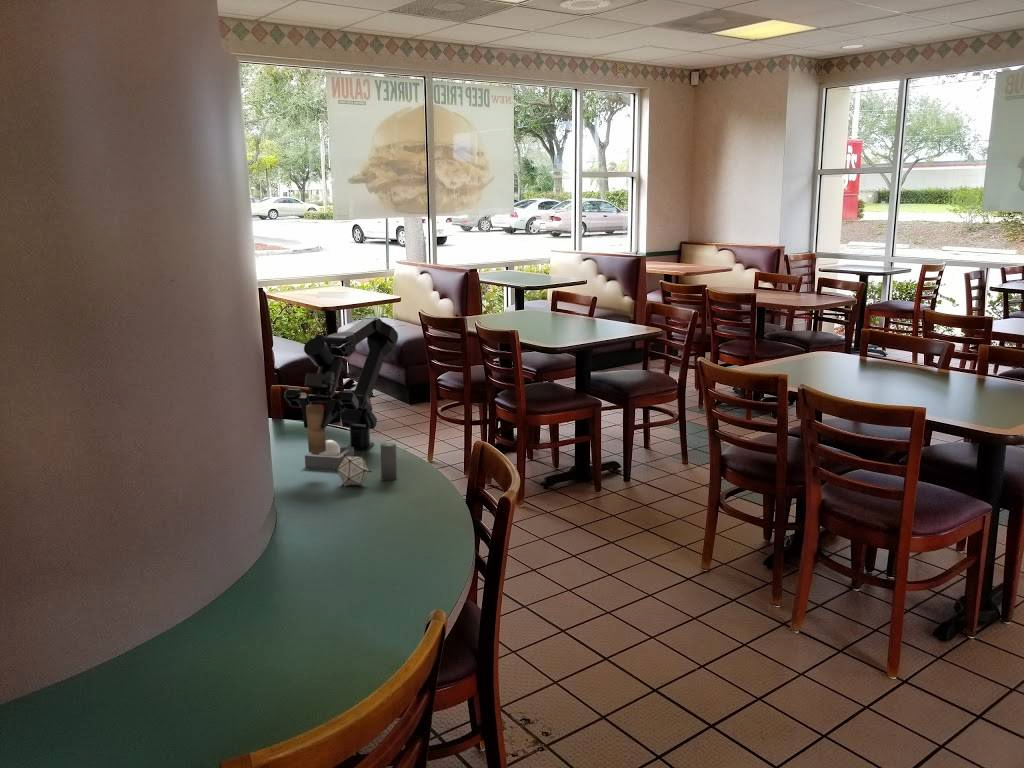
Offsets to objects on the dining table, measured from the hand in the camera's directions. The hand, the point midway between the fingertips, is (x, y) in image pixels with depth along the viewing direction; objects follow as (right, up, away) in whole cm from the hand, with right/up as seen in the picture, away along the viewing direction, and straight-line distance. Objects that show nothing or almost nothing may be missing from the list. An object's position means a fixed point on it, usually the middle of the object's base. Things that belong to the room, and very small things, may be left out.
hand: (313, 427), depth 213 cm
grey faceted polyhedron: (+11, -15, -3) cm, 18 cm away
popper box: (+1, -10, +15) cm, 18 cm away
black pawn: (+19, -13, +2) cm, 23 cm away
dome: (+1, -10, +14) cm, 17 cm away
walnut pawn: (0, -6, +3) cm, 7 cm away
